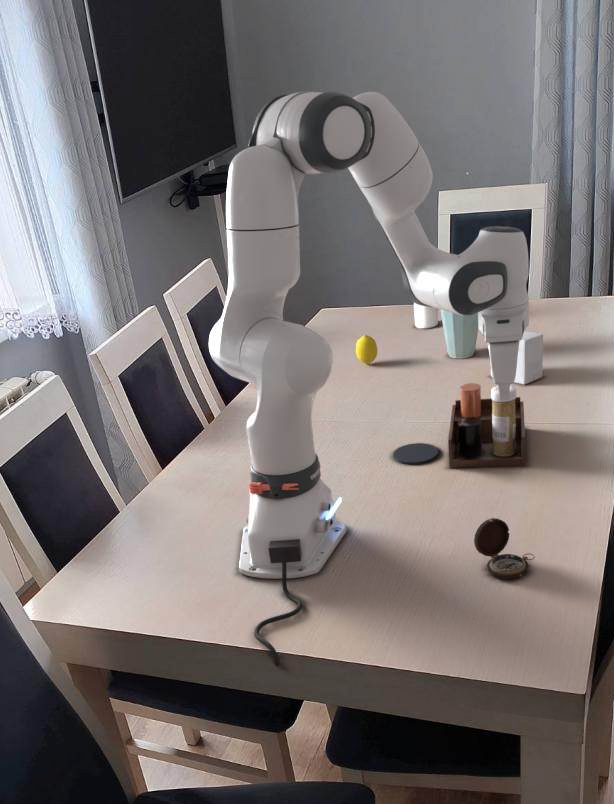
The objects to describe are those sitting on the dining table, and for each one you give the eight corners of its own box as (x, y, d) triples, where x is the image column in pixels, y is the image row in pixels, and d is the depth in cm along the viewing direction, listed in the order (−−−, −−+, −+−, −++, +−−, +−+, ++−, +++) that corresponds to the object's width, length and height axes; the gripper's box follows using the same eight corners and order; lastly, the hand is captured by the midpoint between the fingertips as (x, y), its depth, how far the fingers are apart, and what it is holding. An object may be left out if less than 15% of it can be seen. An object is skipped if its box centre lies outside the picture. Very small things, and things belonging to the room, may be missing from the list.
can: (415, 330, 247) (412, 287, 241) (415, 323, 252) (412, 281, 246) (438, 327, 245) (436, 285, 239) (438, 321, 251) (436, 279, 245)
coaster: (437, 463, 172) (436, 461, 171) (391, 465, 174) (390, 462, 174) (439, 444, 179) (439, 442, 179) (395, 446, 182) (395, 444, 181)
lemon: (382, 361, 228) (379, 331, 224) (372, 369, 224) (370, 338, 220) (363, 360, 231) (360, 331, 227) (353, 367, 227) (350, 338, 223)
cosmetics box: (543, 376, 202) (544, 332, 197) (524, 385, 199) (524, 340, 194) (508, 368, 210) (508, 325, 205) (489, 376, 207) (489, 333, 202)
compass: (504, 585, 132) (503, 544, 129) (473, 563, 139) (471, 523, 135) (547, 568, 135) (548, 527, 131) (514, 547, 141) (514, 508, 138)
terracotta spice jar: (481, 418, 175) (480, 390, 172) (460, 419, 176) (459, 391, 173) (481, 410, 178) (480, 382, 175) (461, 411, 179) (460, 383, 177)
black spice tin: (481, 458, 171) (481, 425, 167) (458, 459, 172) (457, 426, 168) (482, 448, 174) (481, 416, 171) (459, 449, 175) (458, 417, 172)
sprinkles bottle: (521, 451, 170) (521, 387, 164) (504, 459, 169) (504, 394, 162) (503, 445, 174) (502, 382, 167) (487, 453, 172) (485, 389, 165)
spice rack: (525, 465, 165) (525, 431, 162) (449, 468, 169) (448, 435, 166) (523, 428, 180) (523, 396, 176) (453, 431, 184) (452, 400, 180)
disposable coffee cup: (451, 346, 230) (449, 289, 222) (490, 349, 224) (490, 290, 216) (434, 360, 223) (431, 302, 215) (473, 363, 217) (472, 303, 209)
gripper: (486, 302, 168) (488, 370, 174) (484, 337, 151) (486, 411, 158) (520, 299, 166) (521, 368, 172) (522, 334, 149) (522, 409, 156)
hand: (504, 389), depth 165 cm, fingers open, 8 cm apart
